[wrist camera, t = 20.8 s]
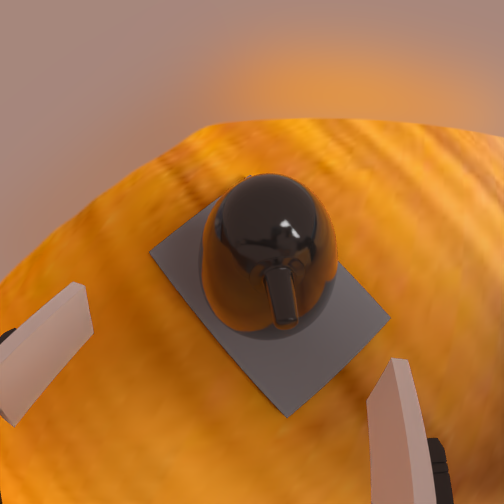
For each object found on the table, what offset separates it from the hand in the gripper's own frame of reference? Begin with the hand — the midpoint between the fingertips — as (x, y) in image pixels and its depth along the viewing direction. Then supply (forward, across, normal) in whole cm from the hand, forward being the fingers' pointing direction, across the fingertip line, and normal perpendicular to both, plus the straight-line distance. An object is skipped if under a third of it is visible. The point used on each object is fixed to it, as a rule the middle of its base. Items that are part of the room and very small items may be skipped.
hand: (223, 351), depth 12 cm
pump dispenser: (+15, 0, -6) cm, 16 cm away
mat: (+16, 0, -6) cm, 17 cm away
